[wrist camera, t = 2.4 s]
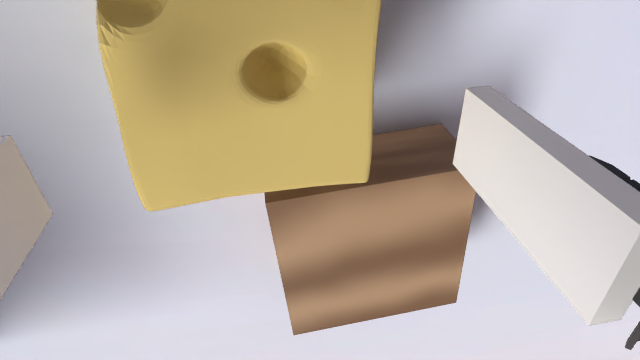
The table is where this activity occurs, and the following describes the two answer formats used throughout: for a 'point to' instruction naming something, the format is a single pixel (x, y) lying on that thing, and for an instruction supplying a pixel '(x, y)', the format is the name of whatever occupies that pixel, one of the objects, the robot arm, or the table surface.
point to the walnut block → (375, 235)
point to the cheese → (240, 94)
